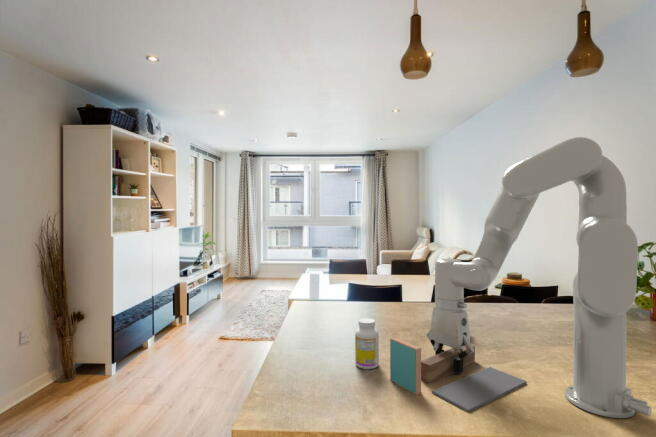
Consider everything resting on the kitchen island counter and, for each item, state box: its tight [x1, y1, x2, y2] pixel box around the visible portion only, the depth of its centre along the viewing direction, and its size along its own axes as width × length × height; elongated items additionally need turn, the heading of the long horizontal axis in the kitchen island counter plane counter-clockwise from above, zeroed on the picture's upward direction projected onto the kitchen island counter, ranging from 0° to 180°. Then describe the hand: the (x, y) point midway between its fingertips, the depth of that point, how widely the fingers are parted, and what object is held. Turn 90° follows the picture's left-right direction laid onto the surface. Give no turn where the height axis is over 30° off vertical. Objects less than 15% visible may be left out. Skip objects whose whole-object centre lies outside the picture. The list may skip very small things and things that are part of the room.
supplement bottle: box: [354, 317, 380, 370], centre depth 101 cm, size 7×7×13 cm
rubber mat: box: [431, 366, 528, 413], centre depth 87 cm, size 10×24×1 cm, turn 123°
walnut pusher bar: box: [421, 343, 476, 385], centre depth 98 cm, size 3×22×5 cm, turn 128°
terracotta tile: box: [389, 336, 422, 396], centre depth 88 cm, size 9×2×11 cm, turn 33°
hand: (448, 368), depth 98 cm, fingers open, 5 cm apart
